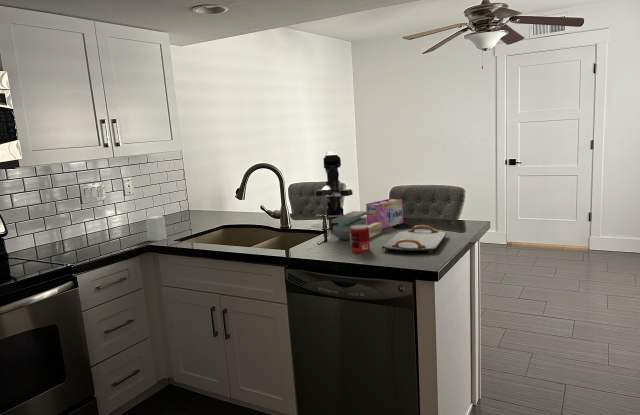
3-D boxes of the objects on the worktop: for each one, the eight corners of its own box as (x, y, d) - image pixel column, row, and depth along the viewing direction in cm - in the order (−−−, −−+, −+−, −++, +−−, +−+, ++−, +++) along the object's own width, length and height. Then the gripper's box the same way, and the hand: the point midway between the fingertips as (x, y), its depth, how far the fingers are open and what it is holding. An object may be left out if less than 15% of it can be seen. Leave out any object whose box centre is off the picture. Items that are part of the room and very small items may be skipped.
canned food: (371, 249, 209) (370, 224, 208) (367, 253, 202) (366, 228, 200) (354, 249, 212) (353, 224, 210) (349, 253, 204) (348, 228, 203)
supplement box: (167, 238, 268) (164, 215, 266) (157, 241, 261) (155, 218, 260) (157, 237, 271) (154, 215, 269) (147, 240, 264) (144, 218, 263)
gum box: (393, 221, 273) (392, 197, 271) (405, 222, 267) (404, 198, 266) (366, 228, 257) (365, 203, 255) (378, 230, 251) (377, 204, 249)
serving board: (434, 257, 191) (434, 241, 190) (378, 255, 200) (377, 240, 199) (449, 236, 226) (448, 223, 225) (400, 235, 235) (400, 223, 234)
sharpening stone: (353, 231, 251) (352, 211, 249) (367, 232, 247) (366, 211, 246) (332, 242, 229) (331, 219, 228) (347, 242, 226) (346, 220, 224)
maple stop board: (350, 244, 222) (349, 233, 221) (376, 231, 247) (375, 222, 246) (356, 244, 220) (355, 234, 219) (381, 231, 246) (381, 222, 245)
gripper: (308, 181, 240) (311, 211, 243) (341, 180, 231) (343, 212, 233) (319, 178, 250) (321, 208, 252) (352, 178, 241) (353, 208, 243)
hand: (334, 209), depth 245 cm, fingers closed
